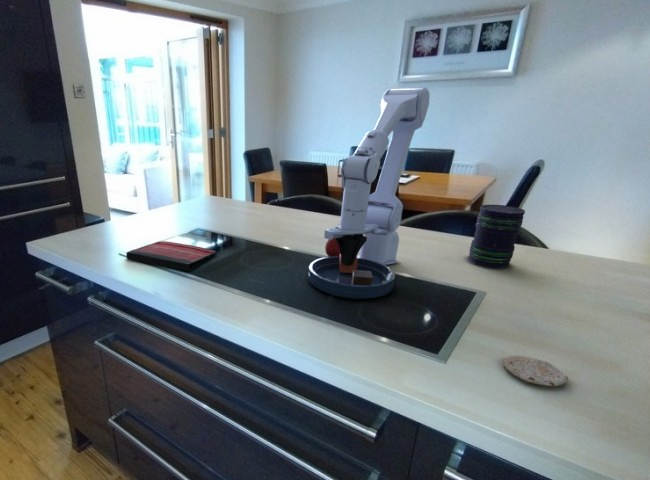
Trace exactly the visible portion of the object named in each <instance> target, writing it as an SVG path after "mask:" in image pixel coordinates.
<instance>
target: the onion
mask: <svg viewBox="0 0 650 480" xmlns="http://www.w3.org/2000/svg"><path fill="white" fill-rule="evenodd" d="M324 248H325V254H326V255H327V257H331V256H340V254H341V253H340V249H339V246H338V243H337V241H336V239H335V238H333V239H332V240H329V239H327V241H326V243H325V247H324Z"/></svg>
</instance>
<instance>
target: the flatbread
mask: <svg viewBox="0 0 650 480" xmlns="http://www.w3.org/2000/svg"><path fill="white" fill-rule="evenodd" d="M502 363H503V366H504V367H505V369H506V370H507V371H508V372H509V373H511V374H512V375H514V376H515V377H517V378H518V379H520V380H522V381H524V382H527V383H530V384H535V385H540V386H546V387H558V386H562V385H564V384H566V383H567V382H568V380H569V377H568V375H565V373H564V372H562V371H561V370H560V369H559V368H557V367H556V366H555V365H553V364H552V363H550V362H549V361H546V360H541V359H538V358H535V357H530V356H524V355H509V356H505V357H504V358H503V359H502Z"/></svg>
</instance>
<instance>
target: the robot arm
mask: <svg viewBox="0 0 650 480" xmlns="http://www.w3.org/2000/svg"><path fill="white" fill-rule="evenodd" d="M429 106H430V91H429V90H428V88H427V87H420V88H418V87H417V88H399V89H398V88H397V89H396V88H395V89H393V88H388V89H386V90H385V92H384V93H383V94H382V97H381V102H380V112H381V113H380V116H379V118H378V120H377V122H376V124H375V126H374V129H372V130H368V131H367V132H366V133H365V135H364V136H363V138H362V140H361V141H360V143H359V144H358V146H357V148H356V149H355V151H354V152H353V154H351V155H349V156H348V157H346V158H345V159H344V160H343V162H342V166H341V168H340V176H341V182H342V183H341V187H342V189H343V195H342V203H341V210H340V220H339V223H338V224H337V225H338V226H337V225H336V226H334V227H331V228H327V229H324V233H323V234H324V236H323V238H324V239H326V240H332V239H333V238H335V239H336V241H337V243H338V246H339V249H340V253H341V259H342V264H344V265H347V266H349V265H353V264H354V261H355V259H356V256H357V257H359V258H364V259H369V260H373V261H376V262H379V263H381V264H384V265H386V266H387V265H392V264H397V263H399V261H398V260H397V254H398V250H399V249H398V248H399V244H400V243H399V242H400V235H399V234H398V232H397V230H398V228H399V227H400V225H401V222H402V215H403V214H402V213H403V210H404V205H403V202H402V201H401V200H400V199H399V197H398V196H396V193H397V189H398V187H399V184H400V180H401V177H402V174H403V173H402V172H403V169H404V166H405V164H406V160H407V156H408V152H409V149H410V147H411V143H412V140H413V137H414V135H415V131H416V130H419V129H420V128H422V127H423V124H424V122H425V119H426V116H427V113H428V109H429ZM390 134H391V138H390V139H389V136H390ZM386 150H387V151H386ZM385 152H386V156H385V159H384V162H383V165H382V168H381V172H380V175H379V179H378V182H377V185H376V189H375V191H374V192H372V193H371V186H372V183H373V182H374V181H375V180H376V178H377V175H378V172H379V168H380V165H381V159H382V157H383V155H384V153H385ZM358 254H359V255H358Z"/></svg>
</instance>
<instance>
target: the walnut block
mask: <svg viewBox="0 0 650 480" xmlns="http://www.w3.org/2000/svg"><path fill="white" fill-rule="evenodd" d="M372 280H373V277H372V273H371V271H362V270H353V272H352V280H351V285H372Z"/></svg>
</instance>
